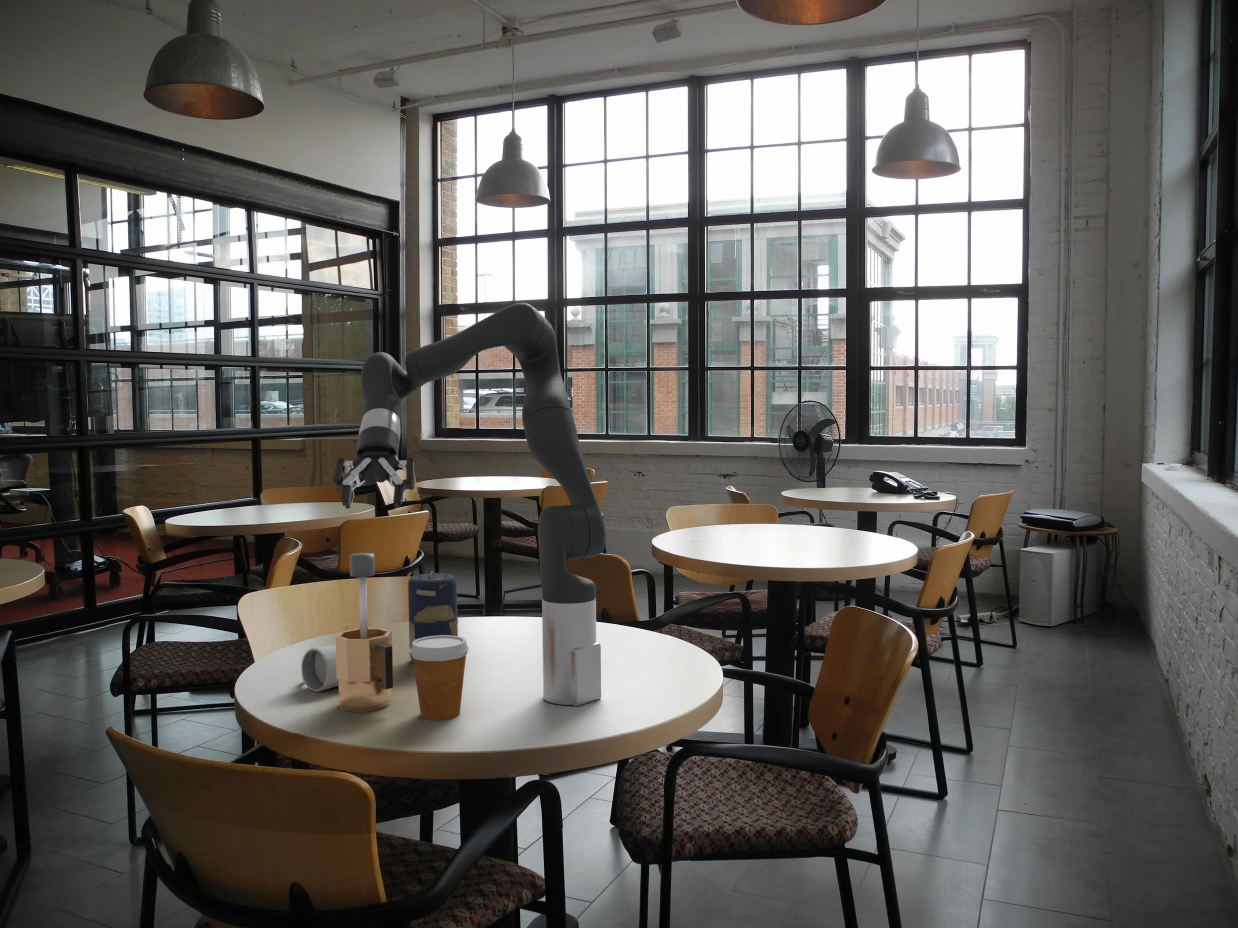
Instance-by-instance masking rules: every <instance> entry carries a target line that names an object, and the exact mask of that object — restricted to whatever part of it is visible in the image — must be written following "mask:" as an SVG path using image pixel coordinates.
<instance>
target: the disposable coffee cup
mask: <svg viewBox="0 0 1238 928" xmlns="http://www.w3.org/2000/svg"><path fill="white" fill-rule="evenodd" d="M467 644H468V643H467V639H466V638H465V637H462V636H459V635H458V636H451V635H440V636H429V637H423V638H419V639H417V640H415V641H413V644H412V648H411V649H410V648H409V655H410V654H411V656H412V657H413V660H412V663H413V664H412V665H413V669H414V677H415V678H414V679H415V683H416V685H415V686H416V690H417V691H416V692H417V697H418V705H419V712H420V716H421V717H422V718H423V719H426V720H433V721H437V720H438V721H440V720H443V721H444V720H449V719H452V718H455V717H457V716H459V715H460V713H461V708H462V707H461V705H462V695H463V688H464V679H465V668H466V660H467V655H468V652H469V649H470V646H469V645H467Z"/></svg>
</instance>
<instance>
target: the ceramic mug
mask: <svg viewBox="0 0 1238 928" xmlns="http://www.w3.org/2000/svg"><path fill="white" fill-rule="evenodd" d="M300 665H301V667H300V669H301V676H302V677H301V678H302V681H303V683H305V685H306V687H307V688H308V689H309V690H311V691H312V692H316V693H317V692H323V691H326V690H329V689H333V688H336V687H339V685H338V679H337V676H336V644H331V645H326V646H325V645H324V646H318V647H312V648H310V649H308V650H306V652H305V653H304V655H303V656H302V660H301V664H300Z"/></svg>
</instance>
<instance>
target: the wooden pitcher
mask: <svg viewBox="0 0 1238 928" xmlns="http://www.w3.org/2000/svg"><path fill="white" fill-rule="evenodd" d="M367 629H368V639H360V627H358V628H355V629H354V628H353V629H349V630H345V631H340V632H338V634H337V635H336V636H335V645H336V676H337V679H338V685H339V686H338V707H339V709H340V710H342V711H346V712H350V713H353V712H354V713H365V712H367V713H368V712H373V711H378V710H381V709H384V708H385V709H386V708H387V707H389V706H390V705H391V704H392V689H393V688H394V668H393V667H394V664H393V663H394V662H393V661H394V660H393V642H392V640H393V639H392V638H393V636H392V635H393V633H392V632H393V631H392V630H389V629H386V628H385V629H384V628H383V627H382V628H381V627H367Z"/></svg>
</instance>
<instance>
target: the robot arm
mask: <svg viewBox="0 0 1238 928" xmlns="http://www.w3.org/2000/svg"><path fill="white" fill-rule="evenodd" d="M500 347H504V348H506V349H507V350H508V351H509V352H510V353H512V355H513V356H515V358H516V359H517V361H518V363H519V365H520V368H521V371H522V374H523V377H524V382H525V387H526V391H525V397H524V400H523V404H522V409H521V421H522V426H523V429H524V435H525V439H526V440H525V441H526V444H527V447H528V449H529V451H530V453H531V455H532V456H533V458H534V459H535V460H536V461H537V462H538V463H539V464H540V466H542V468H543V469H544V470H546V472H547V473H548V474H550V476H552V478H554V480H555V481H556V482H557V483H558V484H559V485H560V487H561V488H562V490H563V492H564V493H565V494H566V497H567V498H568V499H567V500H568V502H569V504H564V505H551V506H546V507H544V508H543V509H542V510H541V512H540V514H539V517H538V524H537V536H538V537H537V538H538V539H537V541H538V552H539V554H538V555H539V569H540V570H539V574H540V586H541V596H542V597H541V598H542V599H541V601H542V602H541V607H542V609H541V610H542V611H541V612H542V619H541V620H542V624H541V625H542V690H543V691H542V695H543V700H544V701H546V702H548V703H550V704H556V705H565V706H566V705H568V706H569V705H571V706H576V707H577V706H578V707H579V706H581V705H583V704H584V705H585V704H587V703H590V702H593V701H595V700H599V699H602V663H601V662H602V656H601V655H602V650H601V649H602V646H601V643H600V642H597V601H596V600H597V586H596V583H595V581H593V580H592V579H589V578H586V577H584V576H579V575H576V574H574V573H572V572H570V571H568V569H567V565H566V560H574V559H586V558H595V557H598V556H600V555H601V554H602V553H603V551H604V549H605V547H606V542H607V541H606V540H607V539H606V538H607V535H606V527H605V521H604V517H603V514H602V511H601V508H600V505H599V501H598V499H597V497H596V494H595V491H594V488H593V485H592V482H591V480H590V478H589V474H588V470H587V468H586V465H585V461H584V456H583V452H582V449H581V444H580V440H579V436H578V430H577V426H576V423H575V419H574V415H573V411H572V409H571V405H570V401H569V396H568V394H567V390H566V387H565V383H564V381H563V378H562V376H563V375H562V371H561V366H560V359H559V358H560V357H559V352H558V351H559V350H558V342H557V338H556V333H555V330H554V328H553V326H552V324H551V322H549V321H548V319H547V318H546V317H545V316H543V315H542V314H541V313H540V311H539V310H537V308H535V307H534V306H532V305H531V304H529V303H526V302H517V303H516V302H515V303H513V304H510V305H508V306H505V307H503V308H502V309H499V310H498V311H496V312H494V313H492V314H490V315H488V316H487V317H485V318H483V319H481V320H479V321H478V322H476V323H474V324H472V325H471V326H468V327H467V328H465V329H463V330H461V331H459V332H457V333H454V334H453V335H451V336H448V337H446V338H443V339H440V340H439V341H435V342H432V343H429V344H427V345H424V346H420V347H418V348H414V349H412V350H410V351H408V353H406V355H405V357H404V366H405V369H406V370H405V369H403V367H402V366H401V365H400V364H399V363H398V362H397V361H396V360H395V358H394V357H393V356H392V355H390V354H389V353H386V352H383V351H378V352H375V353H373V354H371V355H369V356H368V357H367V358H366V359H365V361H364V362H363V365H362V367H361V372H360V383H361V389H362V395H363V399H364V409H363V416H362V420H361V423H360V427H359V430H358V442H357V448H356V455H355V458H354V459H353V460H345V458H344V457H339V458H338V459H337V462H336V465H335V469H334V473H333V478H332V482H333V485H334V490H335V491H336V492H339V491H341V497H340V499H341V500H340V501H341V503H342V504H341V505H342V506H343V507H345V509H347V510H348V509H349V510H350V509H351V504H352V498H353V497H352V496H353V491H355V489H356V488H359V487H361V485H363V484H364V483H365V482H366V483H369V484H371V483H375V482H376V483H384V482H386V481H387V483H388V484H390V486H391V487H393V488H394V489H393V498H392V499H393V500H392V501H393V507H394V508H395V509H397V508H399V506H401V505H402V504H403V502H404V493H405V491H406V490H415V462H414V461H415V460H414V457H413V456H408V457H406V459H405V460H401V459H400V460H399V450H400V449H399V448H400V439H401V417H402V402H401V401H403V400H404V399H405V398H407V397H408V396H410V395H411V394H412V393H414V392H415V391H417V390H419V389H420V388H421V387H422V386H424V385H426V384H427V383H430V382H434V381H436V380H437V381H438V380H440V379H443V378H447V377H449V376H452V375H454V374H455V373H457V372H459V371H460V370H462V368H464V367H465V366H466V365H467V364H468V363H469V362H470V361H471V360H472V359H473V358H474V357H475V356H476V355H478V354H479V353H481V352H483V351H486V350H490V349H493V348H500ZM400 468H401V469H402V470H403V472H405V473H406V478H404V479H402V478H401V477H400V476H399V475H398V473H397V472H398V471H399V469H400ZM351 469H353V470H351ZM350 470H351V472H350V474H349V475H348V476H347V477H346V478H345V475H346V474H348V472H349V471H350Z"/></svg>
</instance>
